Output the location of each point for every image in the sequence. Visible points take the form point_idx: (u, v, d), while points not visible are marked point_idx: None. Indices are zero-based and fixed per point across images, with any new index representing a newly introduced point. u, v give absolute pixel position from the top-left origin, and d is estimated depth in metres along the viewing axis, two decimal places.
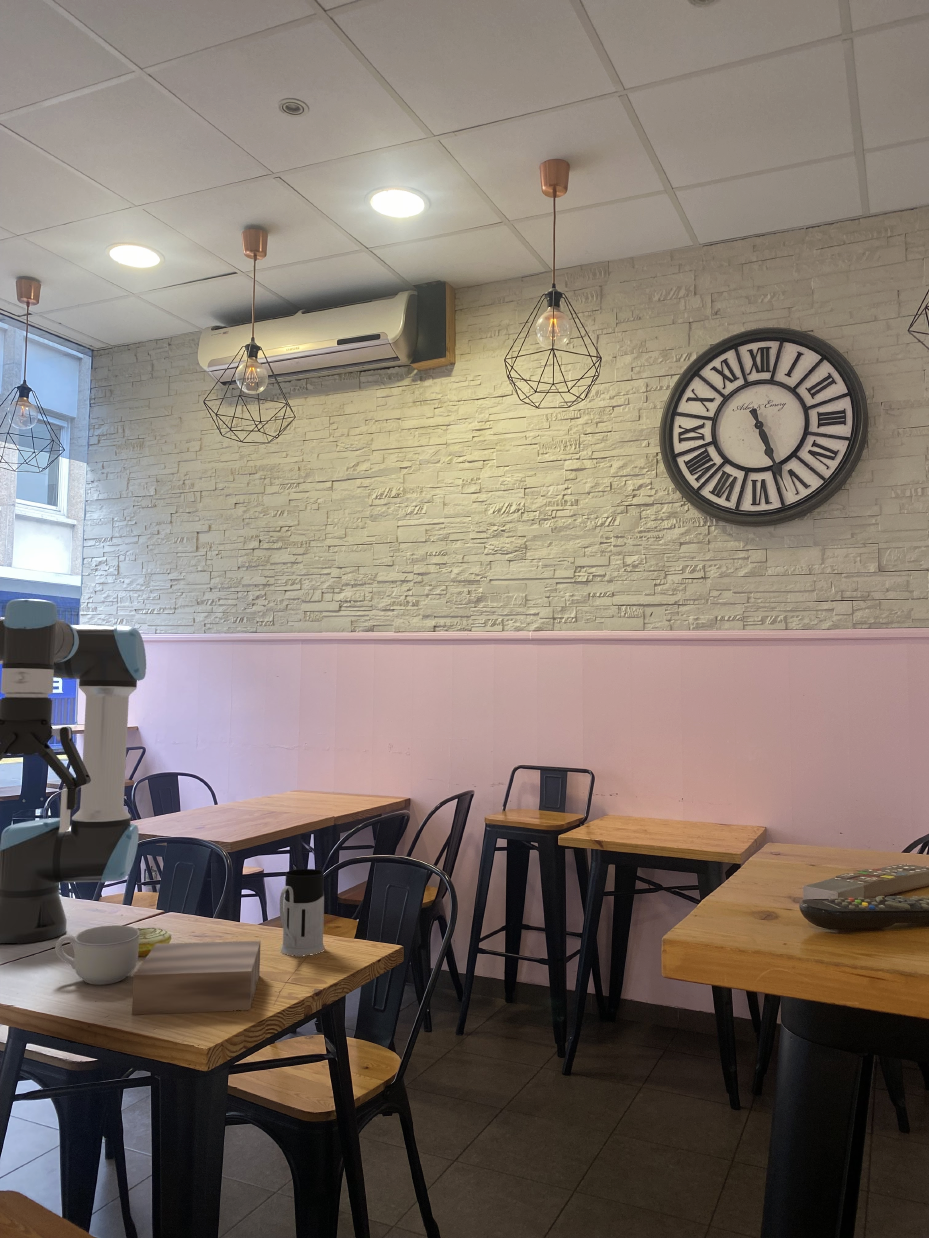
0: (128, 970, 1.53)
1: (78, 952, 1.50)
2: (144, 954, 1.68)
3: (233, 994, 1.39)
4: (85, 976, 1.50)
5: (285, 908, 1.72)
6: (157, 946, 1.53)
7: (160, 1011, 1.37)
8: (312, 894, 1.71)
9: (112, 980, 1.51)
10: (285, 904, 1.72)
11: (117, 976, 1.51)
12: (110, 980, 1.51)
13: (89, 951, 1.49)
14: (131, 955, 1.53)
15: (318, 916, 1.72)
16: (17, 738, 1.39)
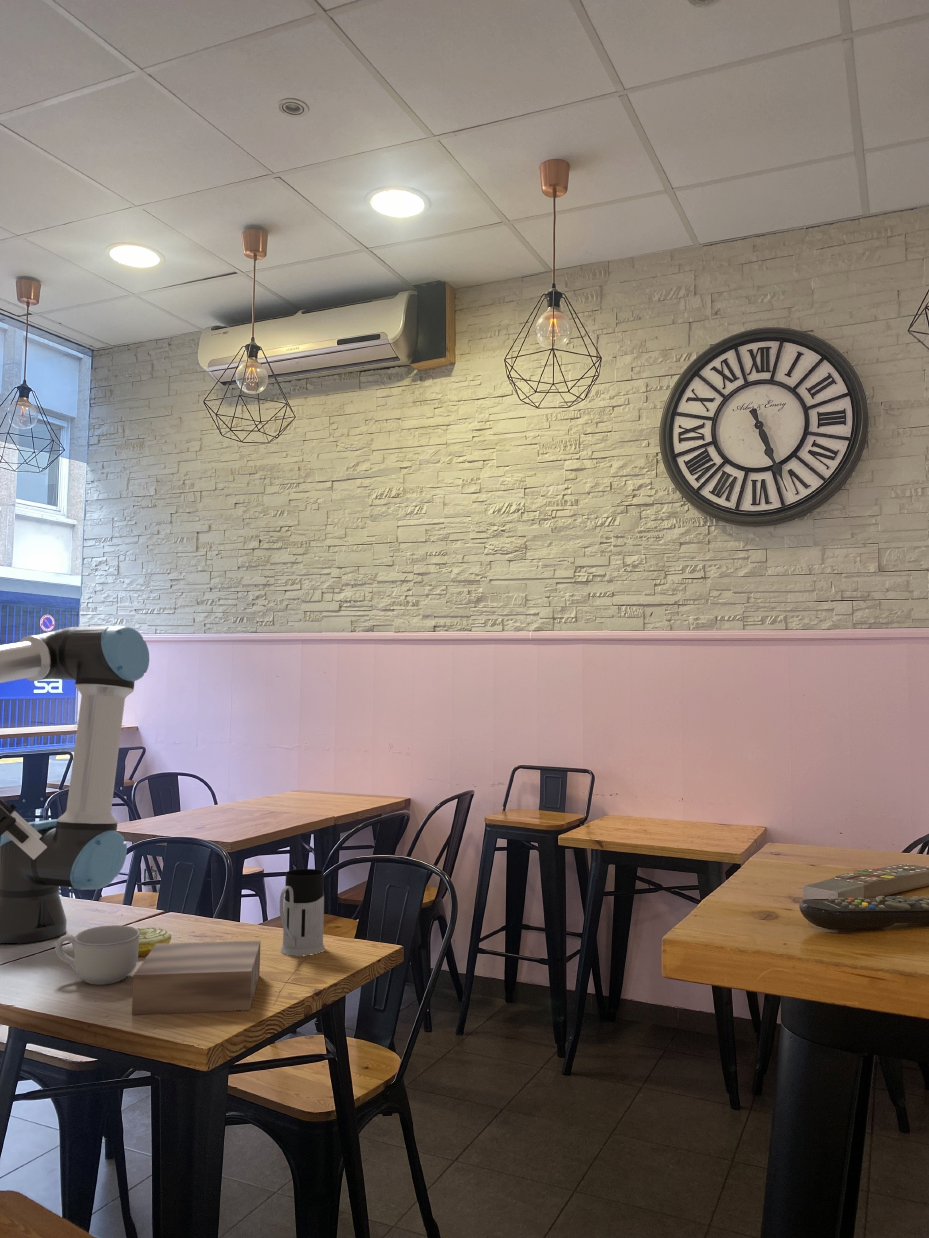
0: (128, 970, 1.53)
1: (78, 952, 1.50)
2: (144, 954, 1.68)
3: (233, 994, 1.39)
4: (85, 976, 1.50)
5: (285, 908, 1.72)
6: (157, 946, 1.53)
7: (160, 1011, 1.37)
8: (312, 894, 1.71)
9: (112, 980, 1.51)
10: (285, 904, 1.72)
11: (117, 976, 1.51)
12: (110, 980, 1.51)
13: (89, 951, 1.49)
14: (131, 955, 1.53)
15: (318, 916, 1.72)
16: None
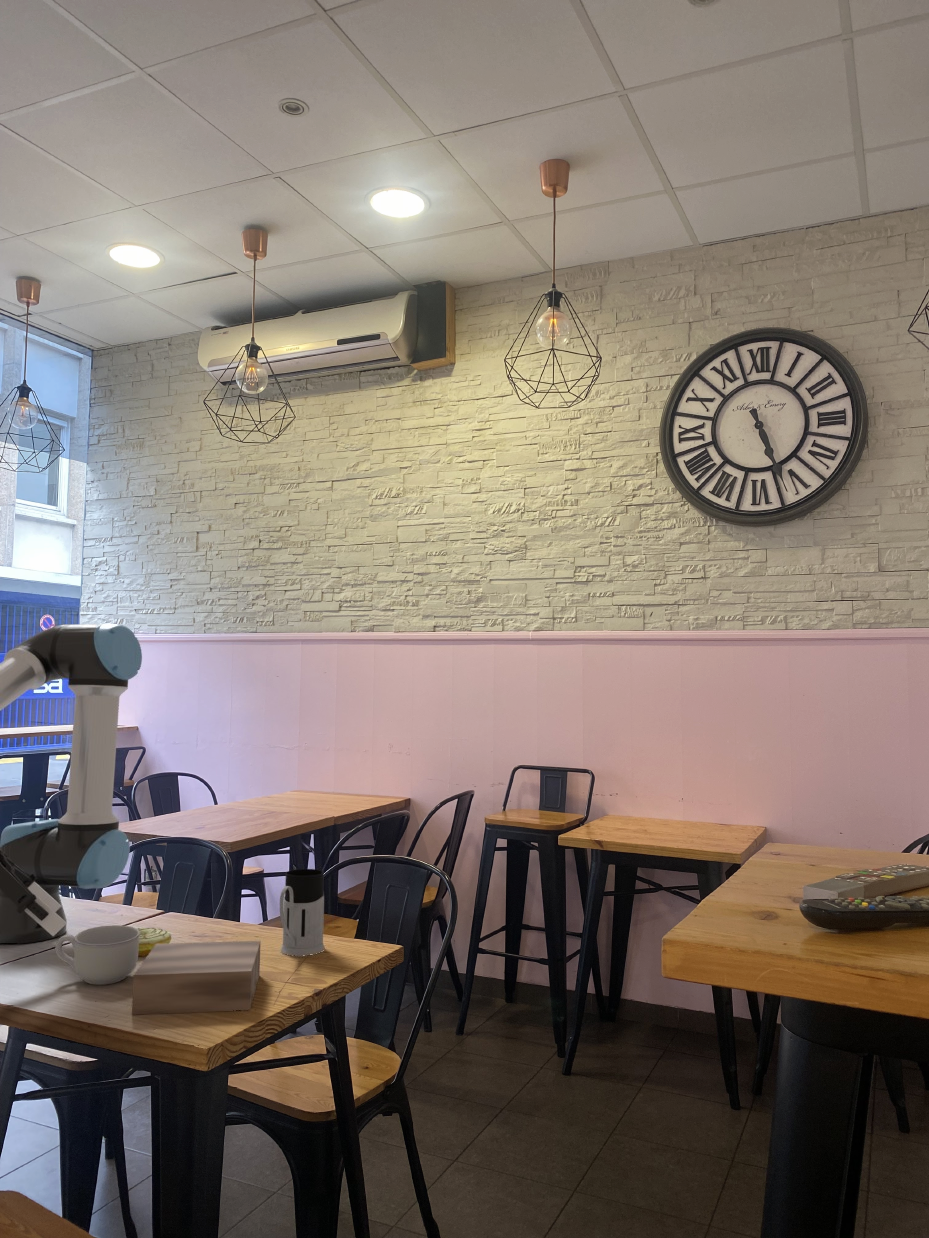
0: (128, 970, 1.53)
1: (78, 952, 1.50)
2: (144, 954, 1.68)
3: (233, 994, 1.39)
4: (85, 976, 1.50)
5: (285, 908, 1.72)
6: (157, 946, 1.53)
7: (160, 1011, 1.37)
8: (312, 894, 1.71)
9: (112, 980, 1.51)
10: (285, 904, 1.72)
11: (117, 976, 1.51)
12: (110, 980, 1.51)
13: (89, 951, 1.49)
14: (131, 955, 1.53)
15: (318, 916, 1.72)
16: None
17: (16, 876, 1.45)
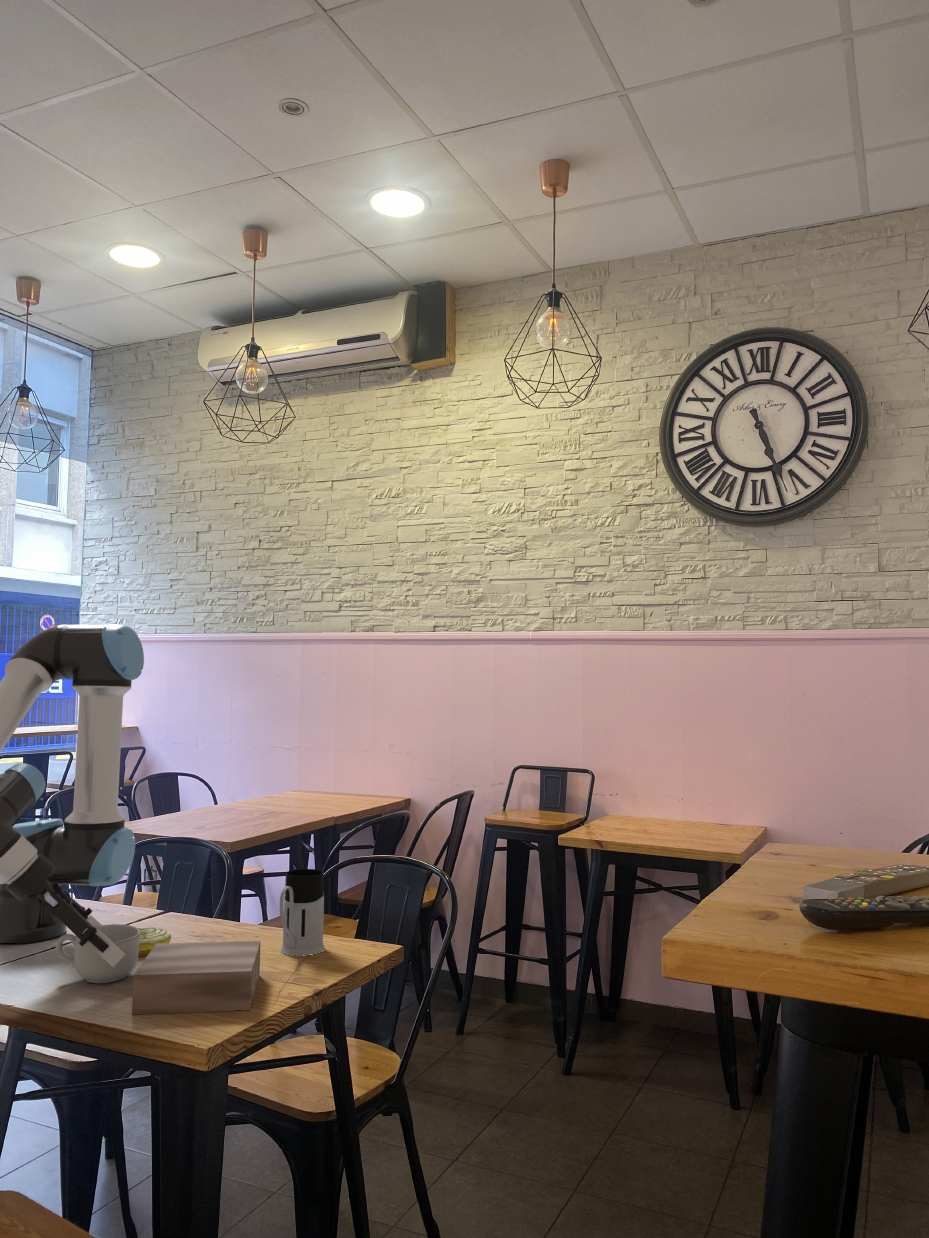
0: (129, 968, 1.53)
1: (79, 951, 1.51)
2: (144, 954, 1.68)
3: (233, 994, 1.39)
4: (86, 975, 1.50)
5: (285, 908, 1.72)
6: (157, 946, 1.53)
7: (160, 1011, 1.37)
8: (312, 894, 1.71)
9: (113, 978, 1.52)
10: (285, 904, 1.72)
11: (118, 974, 1.52)
12: (111, 978, 1.51)
13: (91, 950, 1.50)
14: (132, 953, 1.54)
15: (318, 916, 1.72)
16: None
17: (75, 908, 1.50)
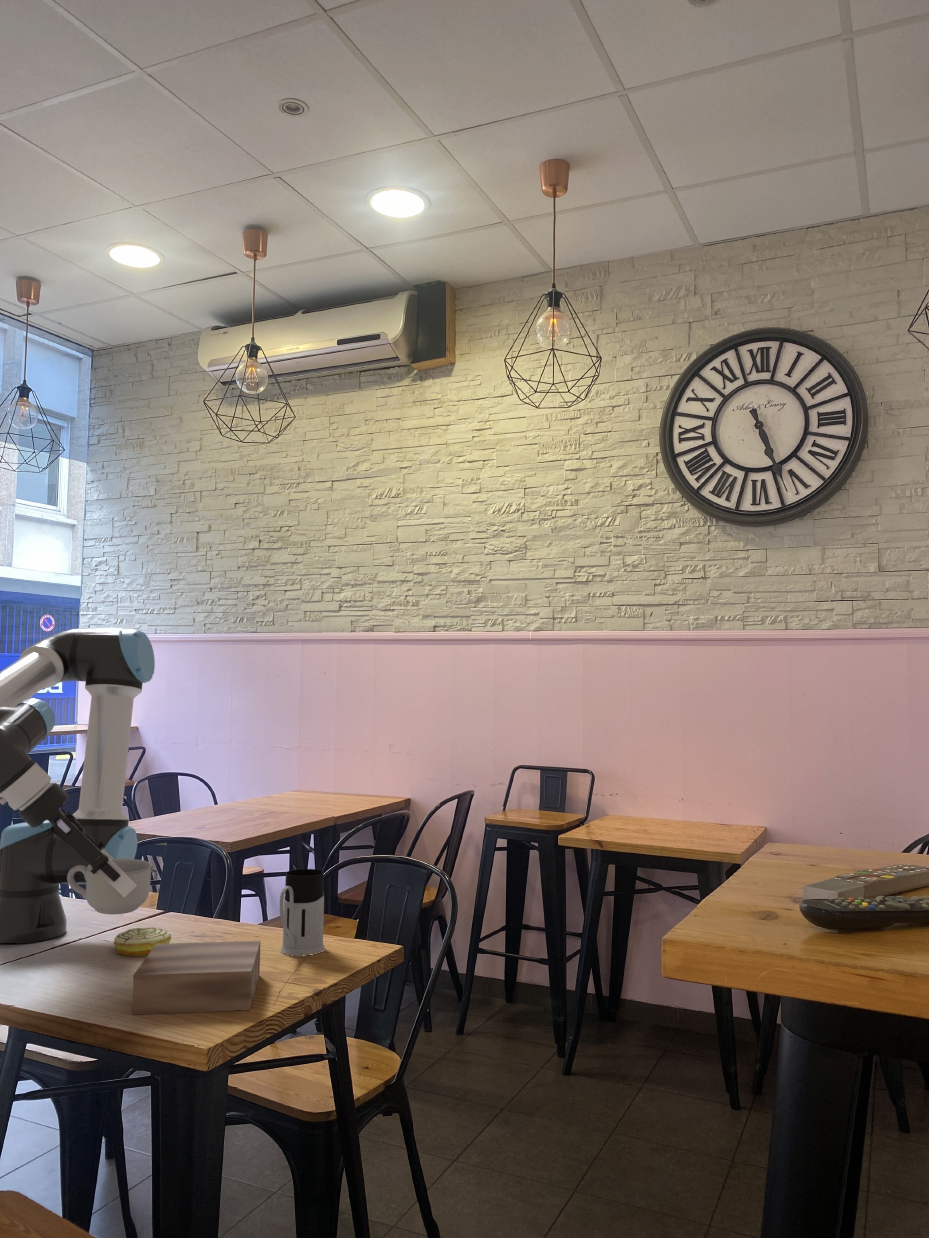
0: (140, 901, 1.52)
1: (90, 881, 1.50)
2: (144, 954, 1.68)
3: (233, 994, 1.39)
4: (97, 905, 1.49)
5: (285, 908, 1.72)
6: (157, 946, 1.53)
7: (160, 1011, 1.37)
8: (312, 894, 1.71)
9: (124, 910, 1.50)
10: (285, 904, 1.72)
11: (129, 906, 1.50)
12: (122, 910, 1.50)
13: (102, 880, 1.49)
14: (143, 886, 1.52)
15: (318, 916, 1.72)
16: None
17: None
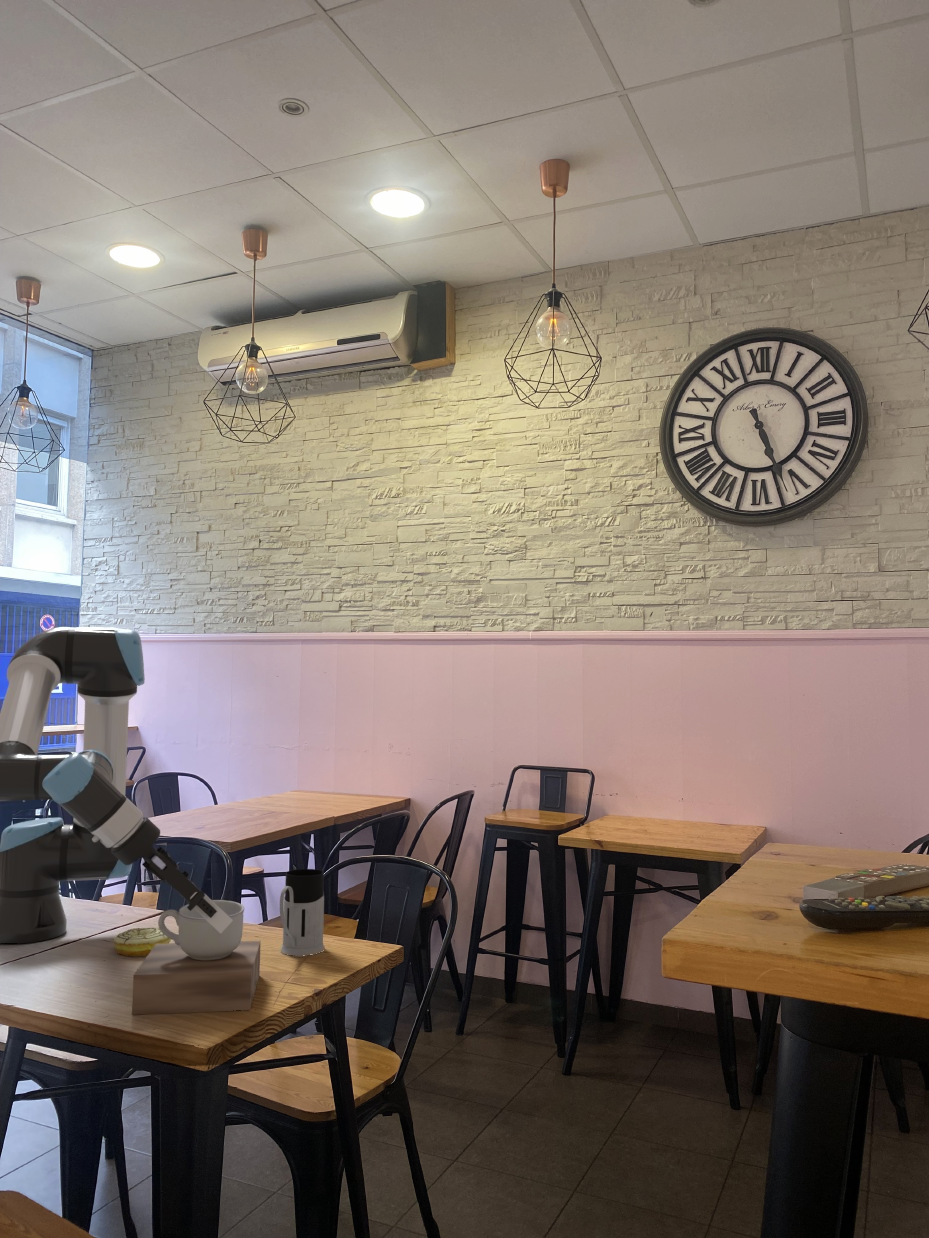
0: (235, 945, 1.47)
1: (185, 927, 1.44)
2: (144, 954, 1.68)
3: (233, 994, 1.39)
4: (193, 951, 1.44)
5: (285, 908, 1.72)
6: (157, 946, 1.53)
7: (160, 1011, 1.37)
8: (312, 894, 1.71)
9: (220, 955, 1.45)
10: (285, 904, 1.72)
11: (225, 951, 1.45)
12: (218, 955, 1.45)
13: (198, 926, 1.43)
14: (238, 930, 1.47)
15: (318, 916, 1.72)
16: None
17: None
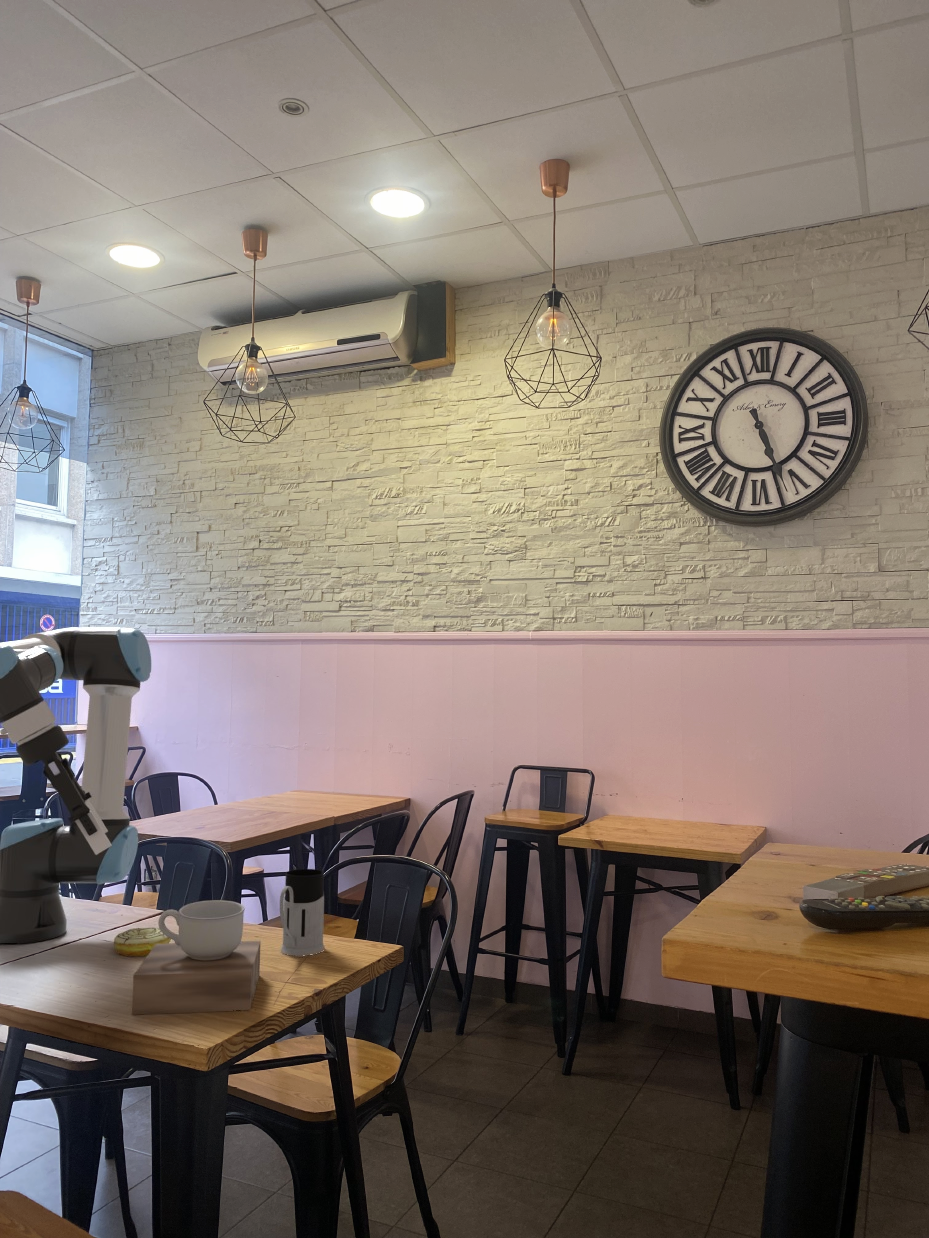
0: (235, 945, 1.47)
1: (185, 927, 1.44)
2: (144, 954, 1.68)
3: (233, 994, 1.39)
4: (193, 951, 1.44)
5: (285, 908, 1.72)
6: (157, 946, 1.53)
7: (160, 1011, 1.37)
8: (312, 894, 1.71)
9: (220, 955, 1.45)
10: (285, 904, 1.72)
11: (225, 951, 1.45)
12: (218, 956, 1.45)
13: (198, 926, 1.43)
14: (238, 930, 1.47)
15: (318, 916, 1.72)
16: None
17: None
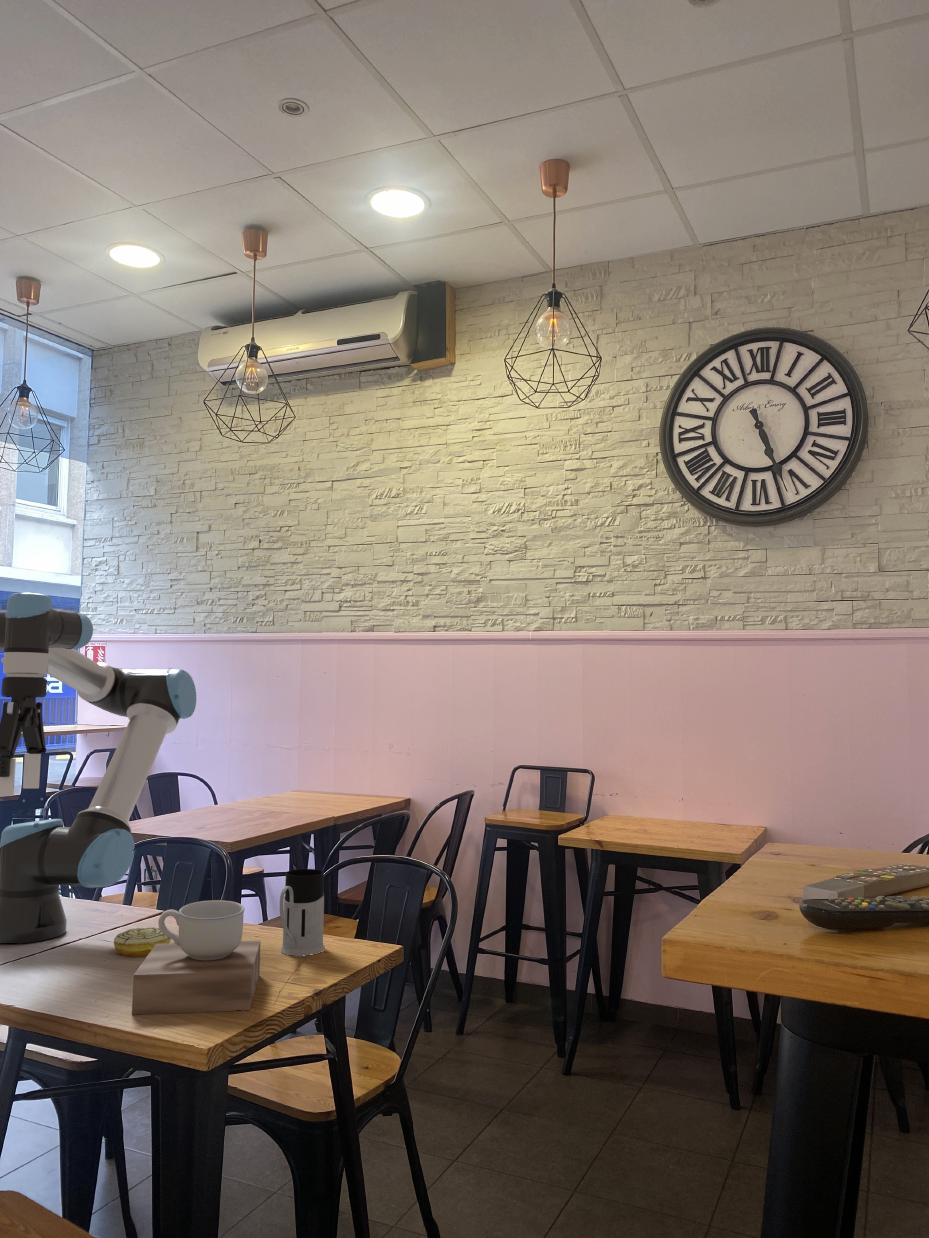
0: (235, 945, 1.47)
1: (185, 927, 1.44)
2: (144, 954, 1.68)
3: (233, 994, 1.39)
4: (193, 951, 1.44)
5: (285, 908, 1.72)
6: (157, 946, 1.53)
7: (160, 1011, 1.37)
8: (312, 894, 1.71)
9: (220, 955, 1.45)
10: (285, 904, 1.72)
11: (225, 951, 1.45)
12: (218, 956, 1.45)
13: (198, 926, 1.43)
14: (238, 930, 1.47)
15: (318, 916, 1.72)
16: None
17: (21, 732, 1.59)
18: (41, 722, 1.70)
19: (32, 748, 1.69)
